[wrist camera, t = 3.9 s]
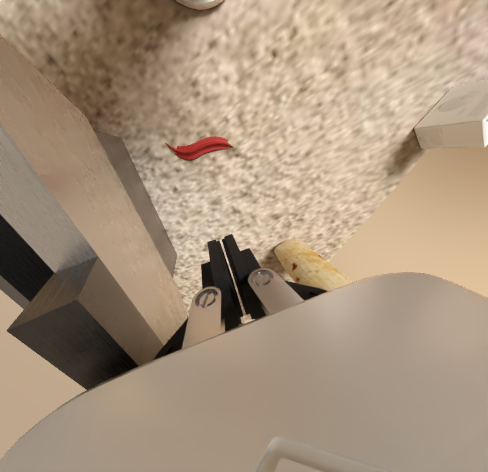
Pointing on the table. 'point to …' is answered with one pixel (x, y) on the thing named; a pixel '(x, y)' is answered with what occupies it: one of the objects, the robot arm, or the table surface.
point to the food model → (308, 266)
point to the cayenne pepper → (201, 147)
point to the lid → (78, 236)
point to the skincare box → (457, 119)
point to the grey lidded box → (38, 272)
